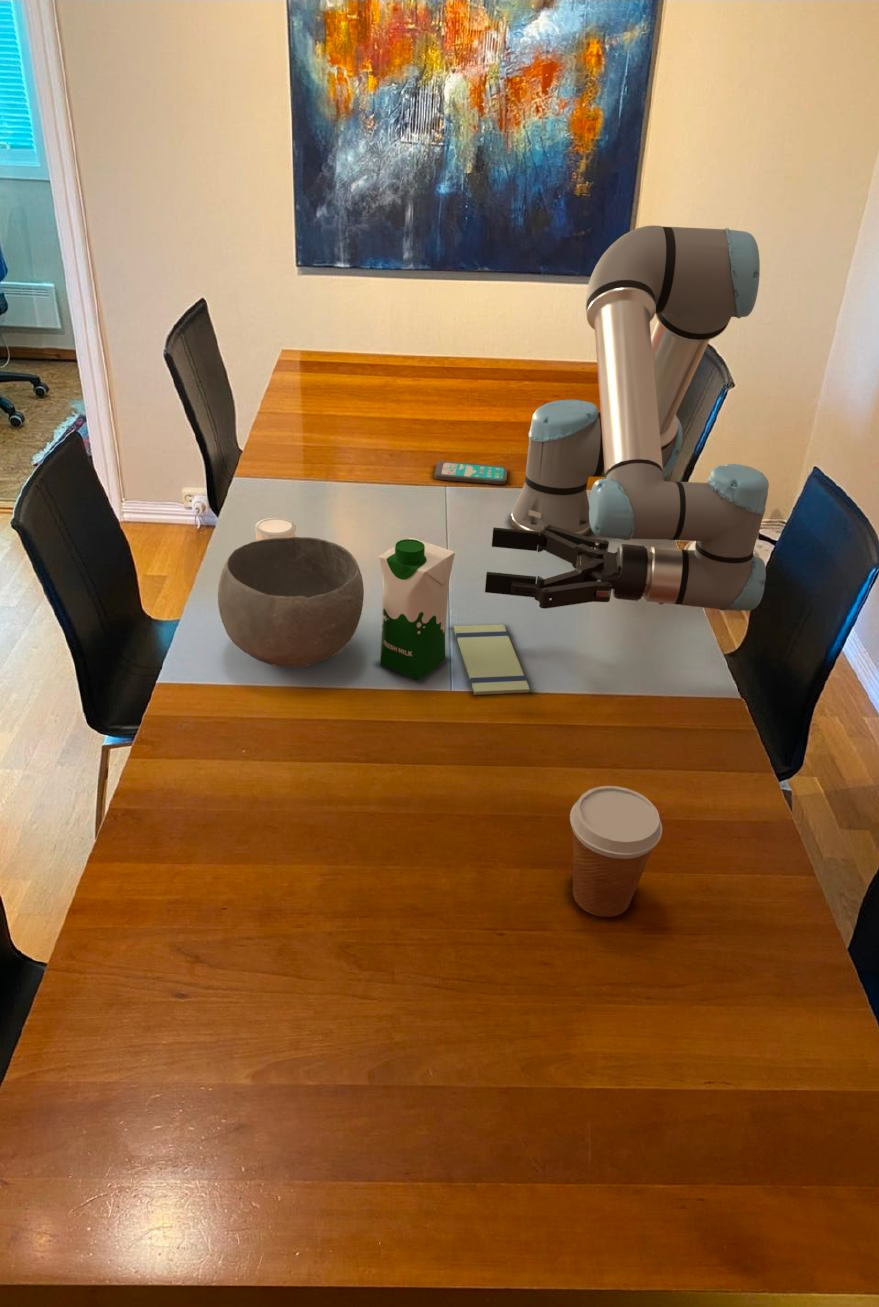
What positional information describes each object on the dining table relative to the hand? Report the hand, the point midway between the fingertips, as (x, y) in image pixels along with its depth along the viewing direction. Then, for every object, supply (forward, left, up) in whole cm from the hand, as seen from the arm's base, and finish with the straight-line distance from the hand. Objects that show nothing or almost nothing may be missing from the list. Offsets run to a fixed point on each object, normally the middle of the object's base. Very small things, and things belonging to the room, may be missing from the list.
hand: (488, 558), depth 135 cm
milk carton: (+9, -3, -18) cm, 21 cm away
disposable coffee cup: (-5, +45, -18) cm, 49 cm away
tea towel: (-2, -3, -18) cm, 18 cm away
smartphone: (-12, -74, -18) cm, 77 cm away
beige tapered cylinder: (+29, -36, -18) cm, 49 cm away
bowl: (+27, -7, -18) cm, 33 cm away
